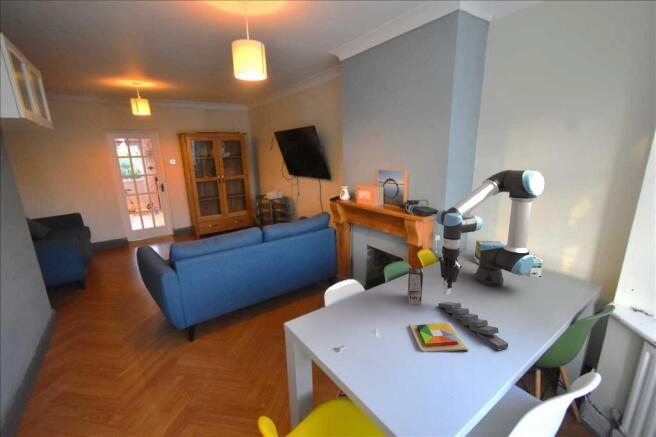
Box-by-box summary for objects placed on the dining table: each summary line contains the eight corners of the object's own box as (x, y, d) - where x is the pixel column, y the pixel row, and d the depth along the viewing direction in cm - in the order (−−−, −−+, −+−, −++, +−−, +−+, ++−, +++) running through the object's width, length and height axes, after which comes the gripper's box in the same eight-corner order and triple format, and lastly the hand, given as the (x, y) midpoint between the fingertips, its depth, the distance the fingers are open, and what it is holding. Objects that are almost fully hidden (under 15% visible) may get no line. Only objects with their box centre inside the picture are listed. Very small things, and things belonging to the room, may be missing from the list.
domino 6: (477, 331, 118) (498, 346, 108) (486, 329, 119) (508, 343, 110) (477, 336, 118) (497, 350, 109) (486, 334, 119) (508, 348, 110)
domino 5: (469, 325, 122) (487, 330, 112) (478, 323, 123) (497, 327, 114) (470, 330, 122) (488, 335, 112) (479, 328, 123) (498, 333, 113)
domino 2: (444, 308, 136) (459, 310, 127) (453, 306, 138) (468, 308, 128) (445, 312, 136) (460, 315, 126) (454, 311, 137) (469, 313, 128)
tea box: (478, 265, 191) (480, 244, 188) (473, 260, 201) (475, 240, 198) (503, 266, 189) (505, 245, 186) (497, 261, 199) (499, 240, 195)
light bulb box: (541, 277, 172) (544, 260, 169) (530, 277, 172) (532, 260, 170) (529, 270, 182) (531, 254, 180) (518, 270, 182) (520, 254, 180)
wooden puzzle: (408, 326, 126) (408, 319, 125) (451, 326, 126) (451, 319, 125) (419, 353, 109) (420, 345, 108) (469, 353, 109) (470, 345, 108)
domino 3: (452, 313, 131) (468, 316, 122) (461, 312, 133) (477, 314, 123) (453, 318, 131) (469, 321, 121) (462, 316, 132) (478, 319, 123)
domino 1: (438, 303, 141) (451, 304, 131) (446, 301, 142) (460, 303, 133) (439, 307, 140) (452, 309, 131) (447, 306, 142) (461, 307, 132)
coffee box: (421, 305, 143) (423, 274, 139) (408, 303, 144) (409, 274, 141) (419, 296, 151) (421, 267, 148) (407, 295, 153) (408, 267, 149)
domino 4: (460, 320, 126) (477, 322, 117) (469, 318, 128) (487, 320, 119) (461, 324, 126) (478, 327, 117) (470, 322, 127) (488, 325, 118)
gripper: (435, 243, 138) (432, 288, 143) (453, 252, 125) (450, 301, 130) (448, 242, 140) (444, 286, 145) (468, 250, 127) (463, 298, 133)
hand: (447, 293), depth 138 cm, fingers closed
